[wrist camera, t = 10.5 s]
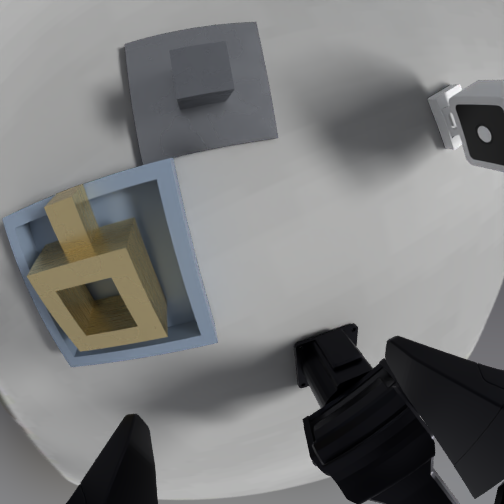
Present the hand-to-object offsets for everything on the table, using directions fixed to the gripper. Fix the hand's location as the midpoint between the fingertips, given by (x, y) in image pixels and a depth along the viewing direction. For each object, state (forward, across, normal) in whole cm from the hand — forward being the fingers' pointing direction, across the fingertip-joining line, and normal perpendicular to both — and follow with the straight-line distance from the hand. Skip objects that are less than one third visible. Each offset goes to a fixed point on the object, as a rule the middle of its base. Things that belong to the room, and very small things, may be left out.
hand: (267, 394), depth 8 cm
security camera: (+13, -24, -8) cm, 28 cm away
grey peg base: (+12, -1, -12) cm, 17 cm away
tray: (+13, +8, -1) cm, 15 cm away
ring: (+11, +8, -3) cm, 14 cm away
